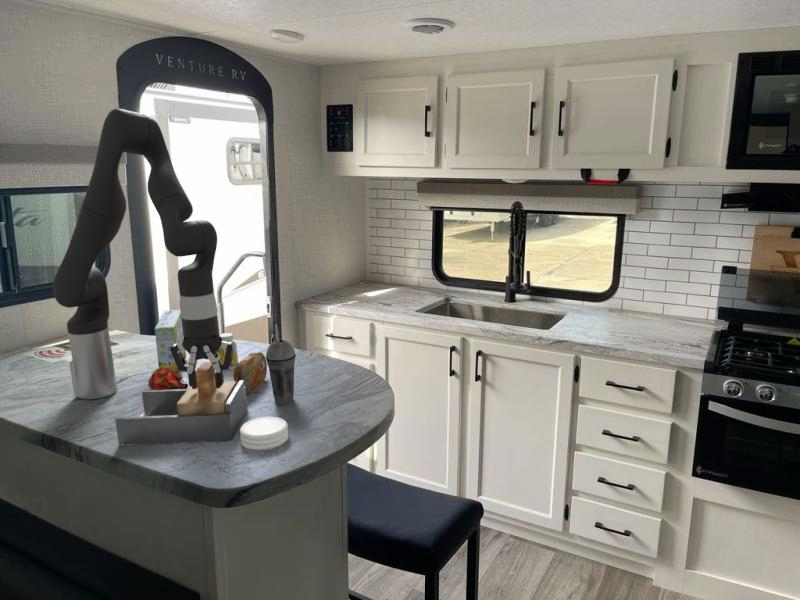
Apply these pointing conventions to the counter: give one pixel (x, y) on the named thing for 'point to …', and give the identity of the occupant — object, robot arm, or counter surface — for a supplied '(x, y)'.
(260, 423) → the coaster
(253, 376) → the tin
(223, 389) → the wooden block with upright
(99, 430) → the counter surface
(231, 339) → the supplement bottle
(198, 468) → the counter surface
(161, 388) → the dragon fruit
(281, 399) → the beverage cup
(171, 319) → the snack box
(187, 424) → the bay
